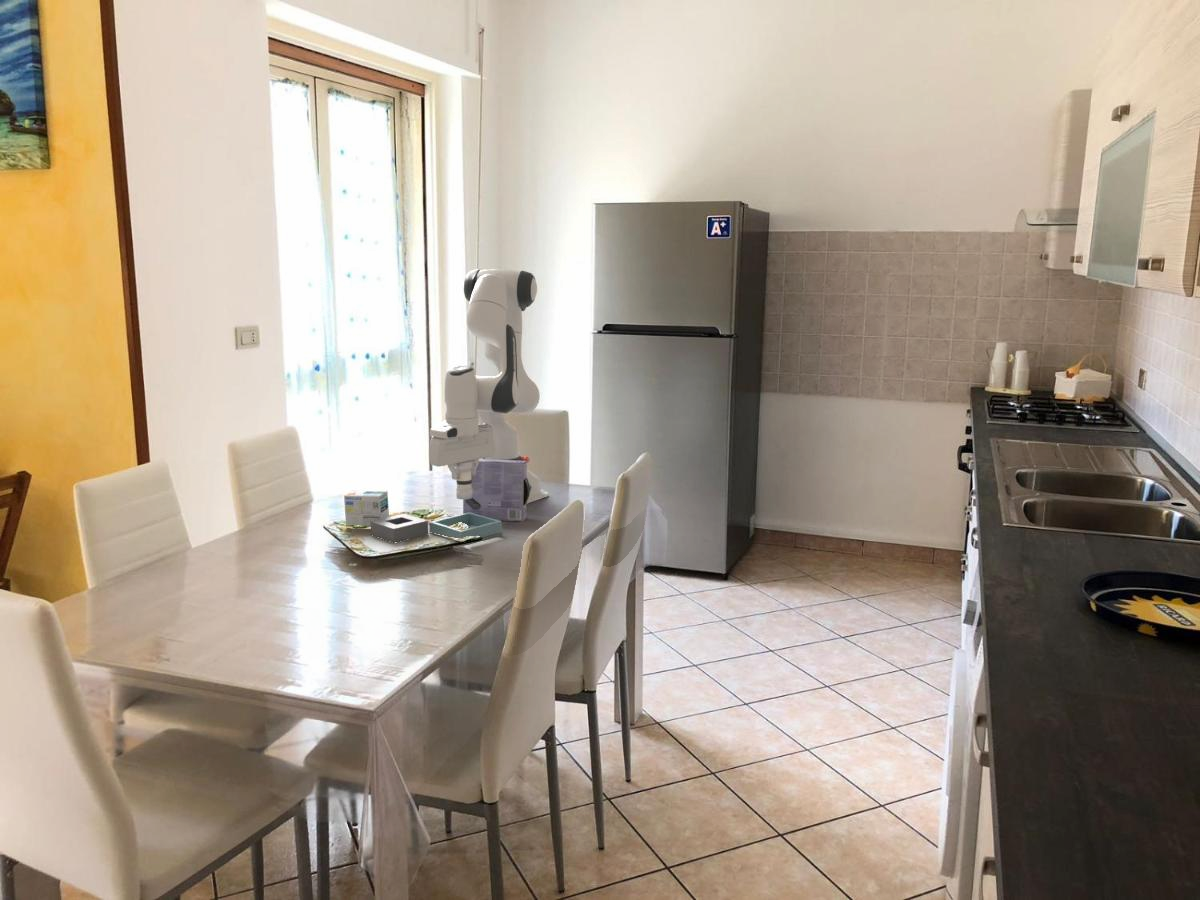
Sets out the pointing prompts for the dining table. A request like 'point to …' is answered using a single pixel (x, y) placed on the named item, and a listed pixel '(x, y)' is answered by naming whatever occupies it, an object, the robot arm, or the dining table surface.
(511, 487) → the cake pan box
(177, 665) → the dining table surface
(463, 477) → the white light bulb
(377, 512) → the light bulb box
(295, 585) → the dining table surface
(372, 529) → the bulb socket block
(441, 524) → the parts tray
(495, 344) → the robot arm
